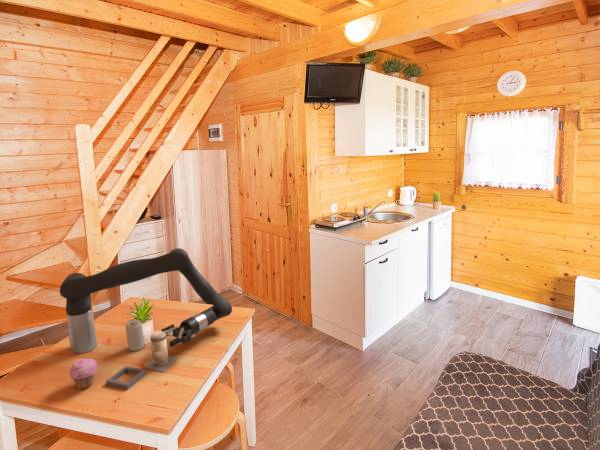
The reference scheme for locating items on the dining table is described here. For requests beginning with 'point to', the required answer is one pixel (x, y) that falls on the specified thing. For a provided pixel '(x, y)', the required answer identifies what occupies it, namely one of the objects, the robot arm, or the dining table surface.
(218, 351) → the dining table surface
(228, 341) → the dining table surface
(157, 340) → the beige tall cylinder
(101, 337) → the dining table surface
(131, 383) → the socket collar
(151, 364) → the mat
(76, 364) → the cupcake
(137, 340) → the beverage can
